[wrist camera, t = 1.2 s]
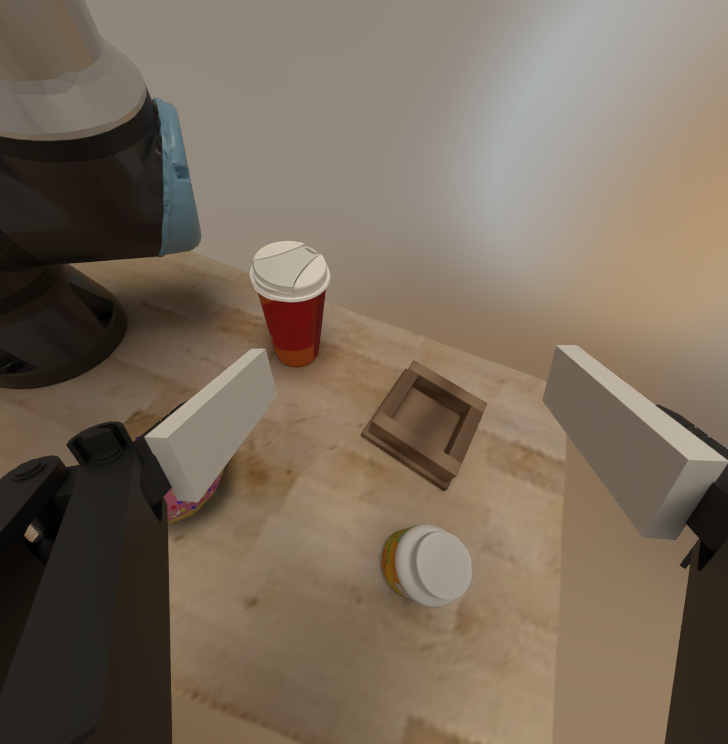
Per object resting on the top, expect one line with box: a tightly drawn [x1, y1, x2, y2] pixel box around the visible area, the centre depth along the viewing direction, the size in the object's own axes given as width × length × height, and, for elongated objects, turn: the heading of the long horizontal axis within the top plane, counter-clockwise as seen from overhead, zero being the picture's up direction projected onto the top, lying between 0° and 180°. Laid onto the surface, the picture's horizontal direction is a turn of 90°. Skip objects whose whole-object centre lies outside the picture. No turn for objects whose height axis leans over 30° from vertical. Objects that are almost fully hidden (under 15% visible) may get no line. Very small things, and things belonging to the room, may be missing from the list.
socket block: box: [361, 360, 487, 491], centre depth 34 cm, size 11×11×4 cm
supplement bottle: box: [381, 524, 472, 607], centre depth 24 cm, size 5×5×10 cm
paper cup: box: [250, 241, 330, 367], centre depth 33 cm, size 8×8×14 cm
